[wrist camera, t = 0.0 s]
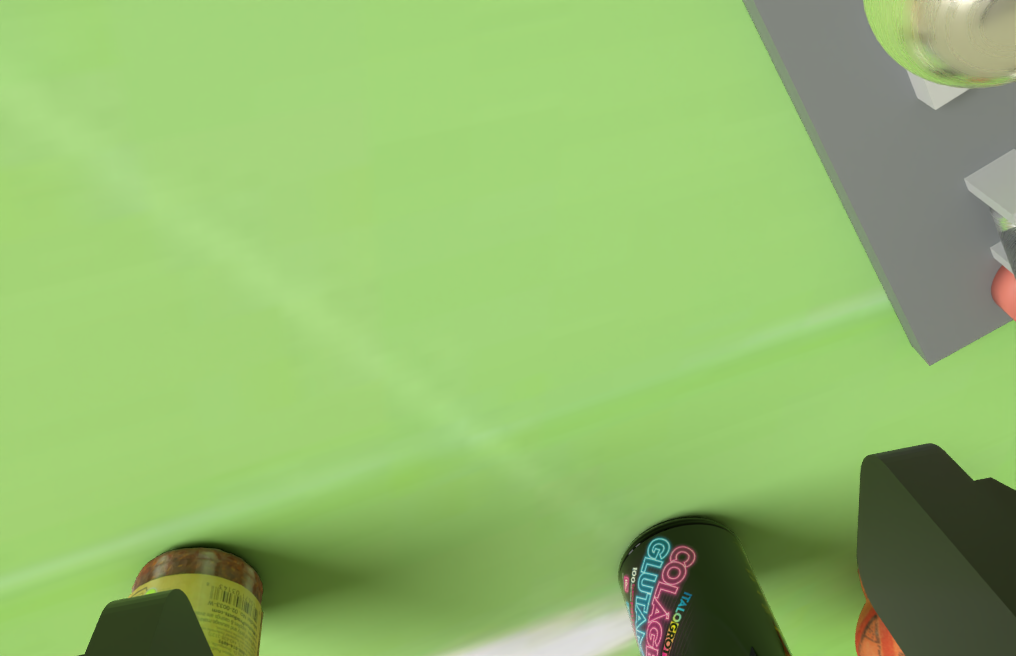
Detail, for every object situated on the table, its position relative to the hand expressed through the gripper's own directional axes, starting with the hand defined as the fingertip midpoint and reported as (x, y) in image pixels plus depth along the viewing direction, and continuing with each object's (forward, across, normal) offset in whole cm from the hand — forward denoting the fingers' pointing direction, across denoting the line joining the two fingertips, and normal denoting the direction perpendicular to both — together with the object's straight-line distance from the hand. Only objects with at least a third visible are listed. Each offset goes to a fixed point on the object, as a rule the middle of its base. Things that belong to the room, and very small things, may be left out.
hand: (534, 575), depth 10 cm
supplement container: (+26, -8, +25) cm, 37 cm away
